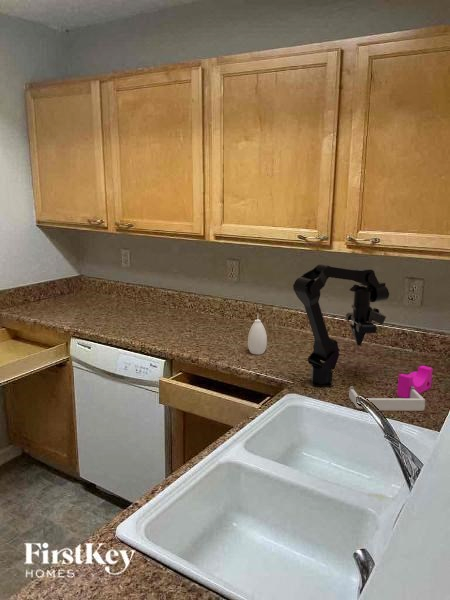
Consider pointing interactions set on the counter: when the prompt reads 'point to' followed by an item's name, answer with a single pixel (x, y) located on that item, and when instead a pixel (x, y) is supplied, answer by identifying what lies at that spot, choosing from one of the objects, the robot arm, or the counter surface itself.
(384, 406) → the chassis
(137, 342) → the counter surface
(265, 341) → the sauce bottle
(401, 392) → the toy block
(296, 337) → the counter surface
